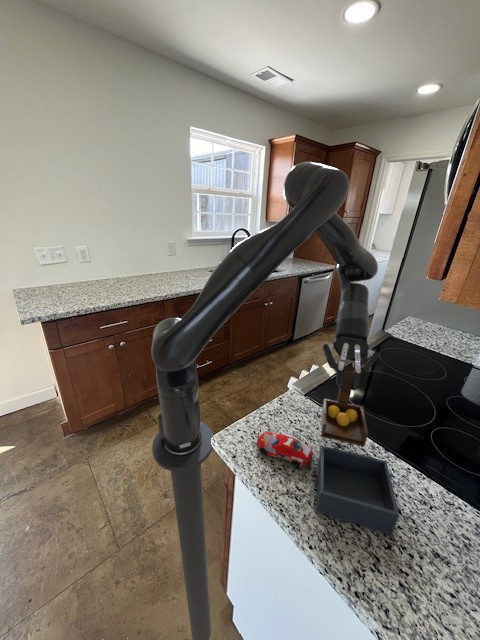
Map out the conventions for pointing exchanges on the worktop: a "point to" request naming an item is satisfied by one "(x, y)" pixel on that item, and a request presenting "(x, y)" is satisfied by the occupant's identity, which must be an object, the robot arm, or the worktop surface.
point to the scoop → (330, 426)
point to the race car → (285, 448)
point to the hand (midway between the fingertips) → (347, 387)
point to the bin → (356, 489)
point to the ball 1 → (333, 411)
